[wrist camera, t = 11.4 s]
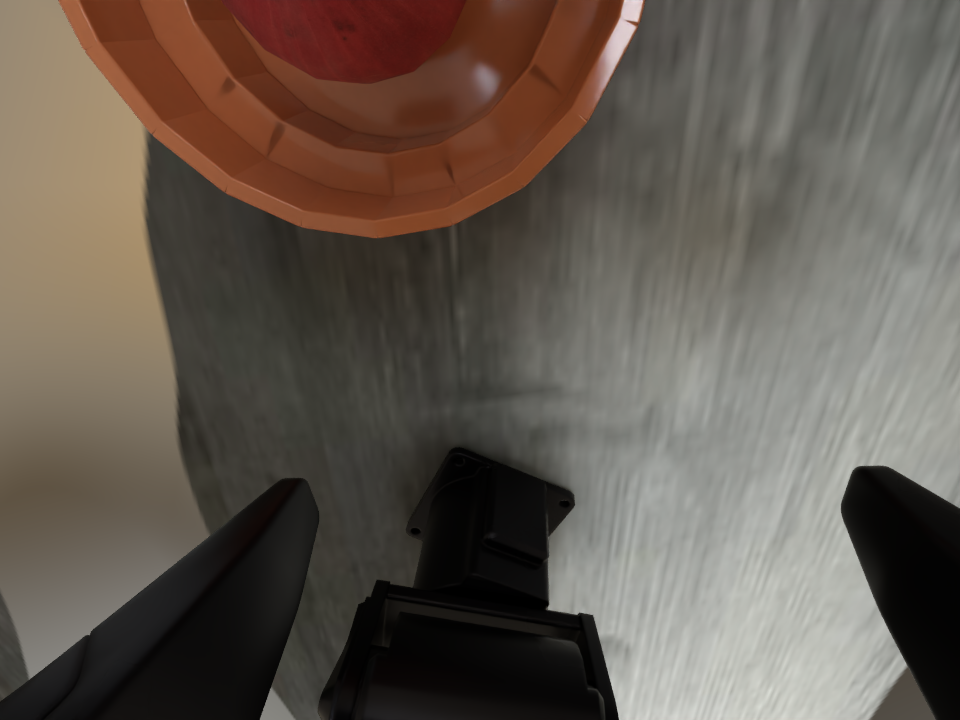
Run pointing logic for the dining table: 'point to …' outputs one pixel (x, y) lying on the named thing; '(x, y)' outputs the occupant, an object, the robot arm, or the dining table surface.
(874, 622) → the dining table surface
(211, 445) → the dining table surface
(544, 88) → the bowl
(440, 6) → the onion
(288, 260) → the dining table surface
